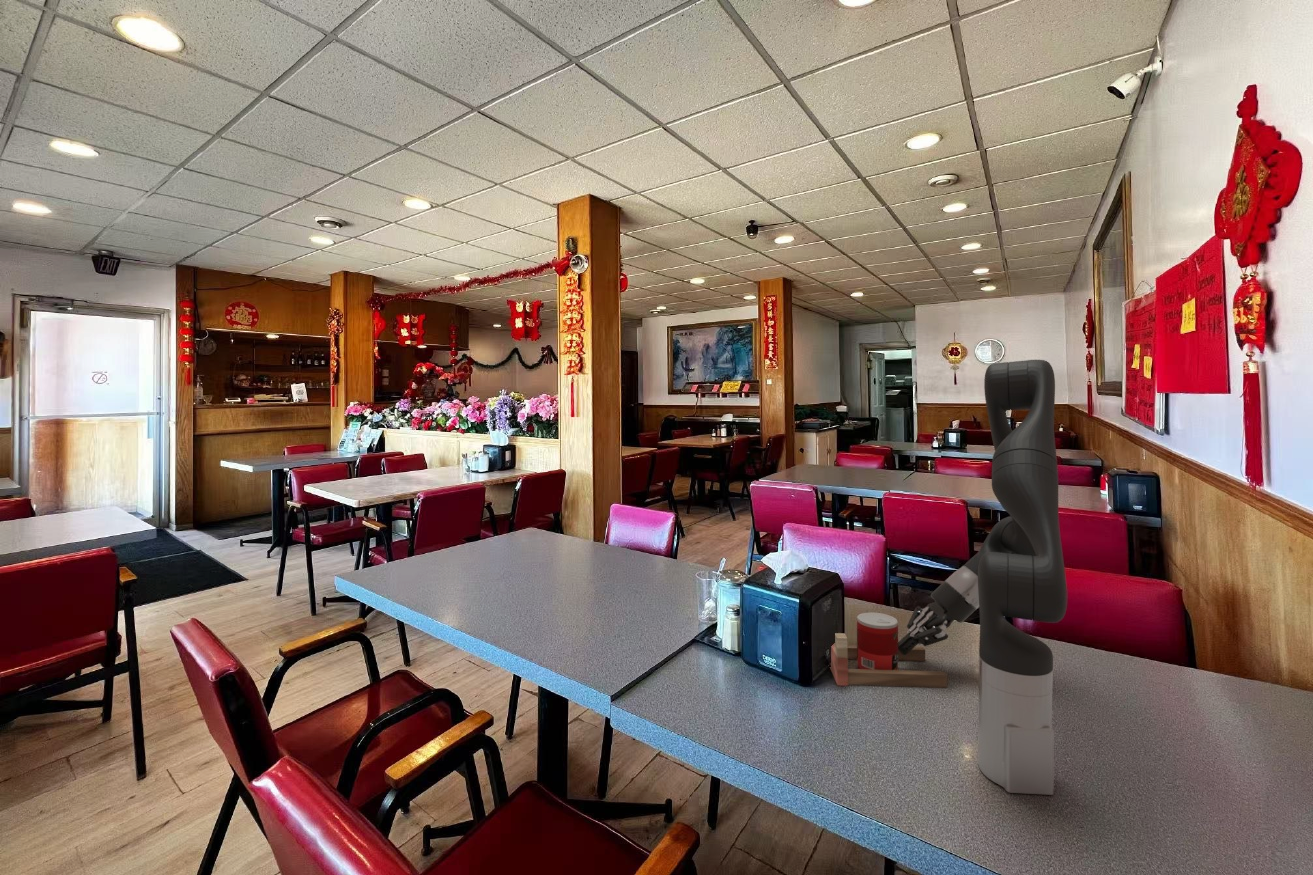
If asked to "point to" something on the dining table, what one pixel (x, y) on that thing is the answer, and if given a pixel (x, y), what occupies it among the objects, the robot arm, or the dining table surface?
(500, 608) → the dining table surface
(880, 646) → the canned food
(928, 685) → the rail
